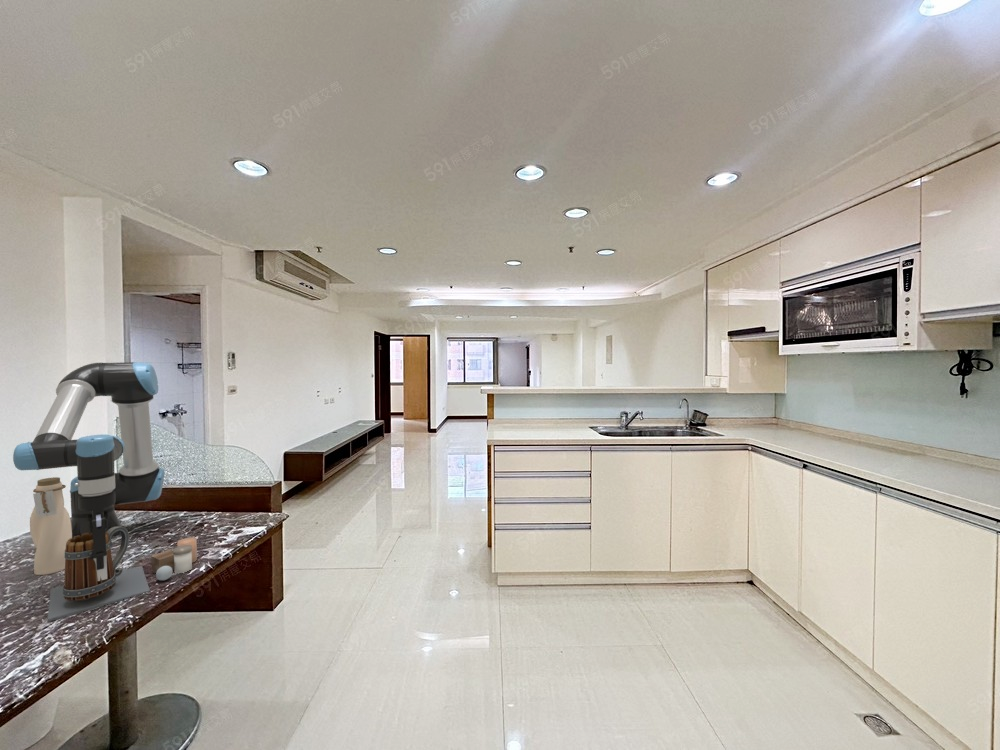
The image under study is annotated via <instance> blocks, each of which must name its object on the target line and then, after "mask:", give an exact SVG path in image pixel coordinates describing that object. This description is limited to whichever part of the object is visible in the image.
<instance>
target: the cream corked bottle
mask: <svg viewBox="0 0 1000 750" xmlns="http://www.w3.org/2000/svg"><path fill="white" fill-rule="evenodd" d="M36 482H37V485H35V488H34V489H32V492H33V495H32V496H33V500H34V502H33V503H34V507H33V509H32V511H31V514H30V517H29V533H30V536H31V539H32V542H33V544H34V547H35V549H36V550H35V553H34V557H33V560H34V561H33V562H34V563H33V565H34V567H33V568H34V569H33V571H34V572H33V574H34V575H36V576H46V575H51V574H55V573H58V572H61V571H63V570H64V571H65V549H66V543H67V541H68V540H69V539H70V538H72V527H71V517H70V516H71V515H70V513H69V511H68V510H67V509H66V507H65V499H64V493H63V490H64V489H66V486H67V485H65V484H63V483H62V481H61V477H57V476H56V477H55V476H54V477H48V478H41V479H38V480H37V481H36Z"/></svg>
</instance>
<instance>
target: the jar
mask: <svg viewBox="0 0 1000 750" xmlns="http://www.w3.org/2000/svg"><path fill="white" fill-rule="evenodd" d="M172 551H173V554H174V571H173V572H175V573H183V572H187V571H189V570H191V569H192V570H193V564H192V546H191V545H183V546H179V547H175V548H173V549H172ZM192 570H191V571H192ZM189 572H190V571H189ZM175 573H174V574H175ZM187 573H188V572H187ZM183 574H184V573H183Z"/></svg>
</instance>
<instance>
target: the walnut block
mask: <svg viewBox="0 0 1000 750" xmlns="http://www.w3.org/2000/svg"><path fill="white" fill-rule="evenodd" d="M150 557H151V572H152V573H153V572H154V573H153V574H155V573H156V572H157V570H158V569H159V568H160V567H162V566H170V567H171V568H172V570H174V554H173V549H172V550H171V549H169V550H166V551H165V550H164V551H162V552H159V553H156V554H153V555H151V556H150Z"/></svg>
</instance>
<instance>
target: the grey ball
mask: <svg viewBox="0 0 1000 750" xmlns="http://www.w3.org/2000/svg"><path fill="white" fill-rule="evenodd" d="M173 572H174V571H173V570H172V568H171V567H170V566H162V567H160V568H159V569H158V570H157V572H156V574H155V577H156V579H157V580H159V581H161V582H162V581H167V580H168V579H170V578H171V577H172V575H173Z"/></svg>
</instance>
